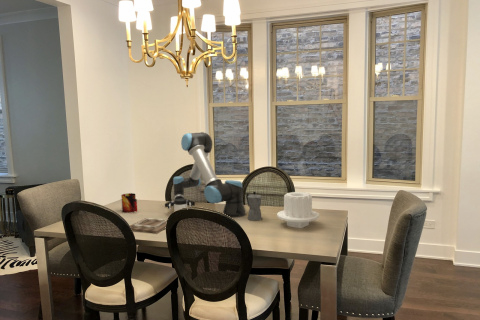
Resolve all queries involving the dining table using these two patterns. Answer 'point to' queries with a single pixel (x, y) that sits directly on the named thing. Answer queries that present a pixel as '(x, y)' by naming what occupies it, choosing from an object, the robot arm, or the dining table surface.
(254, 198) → the coffeepot
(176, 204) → the jar
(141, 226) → the board
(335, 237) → the dining table surface
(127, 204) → the mug
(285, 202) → the ribbed cylinder on disc
